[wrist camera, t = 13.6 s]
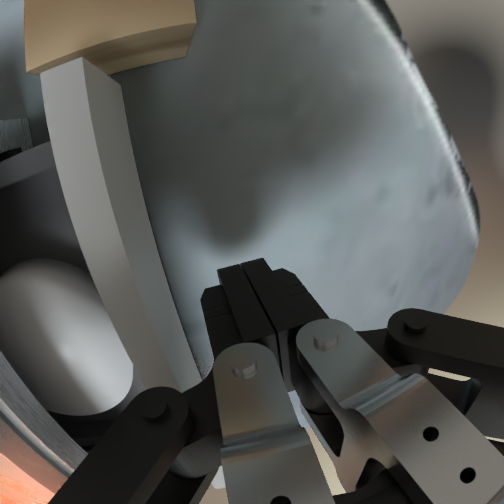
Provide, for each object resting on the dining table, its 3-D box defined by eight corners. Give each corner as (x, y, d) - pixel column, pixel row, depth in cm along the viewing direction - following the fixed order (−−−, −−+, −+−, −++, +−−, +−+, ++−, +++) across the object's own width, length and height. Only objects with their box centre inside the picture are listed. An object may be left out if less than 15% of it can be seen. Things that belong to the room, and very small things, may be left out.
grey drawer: (-102, 199, 6) (-163, 239, 2) (120, 85, 8) (82, 57, 4) (31, 432, 12) (22, 494, 8) (214, 409, 14) (234, 485, 10)
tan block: (66, -6, 6) (29, -51, 3) (173, -34, 7) (181, -93, 3) (73, 86, 8) (26, 71, 4) (185, 56, 9) (196, 22, 5)
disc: (93, 235, 8) (81, 257, 7) (158, 371, 11) (160, 401, 10) (-33, 283, 7) (-52, 306, 6) (42, 394, 10) (36, 421, 9)
